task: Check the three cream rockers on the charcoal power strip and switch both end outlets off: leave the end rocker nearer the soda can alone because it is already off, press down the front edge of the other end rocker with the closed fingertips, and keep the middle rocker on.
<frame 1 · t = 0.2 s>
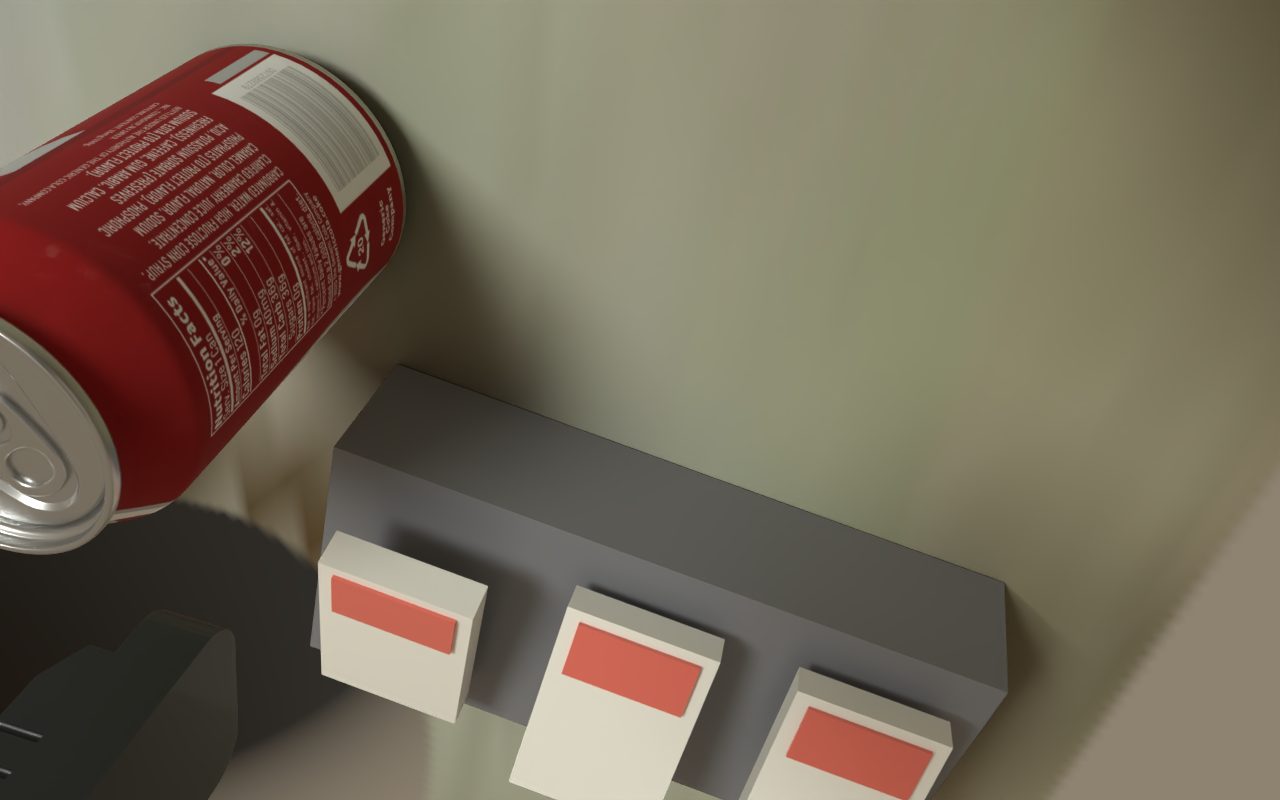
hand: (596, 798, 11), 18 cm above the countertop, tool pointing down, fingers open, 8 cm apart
rocker middle: (613, 714, 30), point 6 cm above the countertop, hinge at -12.0°
soda can: (298, 163, 30), on the countertop
power strip: (660, 568, 34), on the countertop
rocker 2: (831, 795, 29), point 6 cm above the countertop, hinge at -12.0°
rocker 1: (398, 635, 30), point 6 cm above the countertop, hinge at 12.0°
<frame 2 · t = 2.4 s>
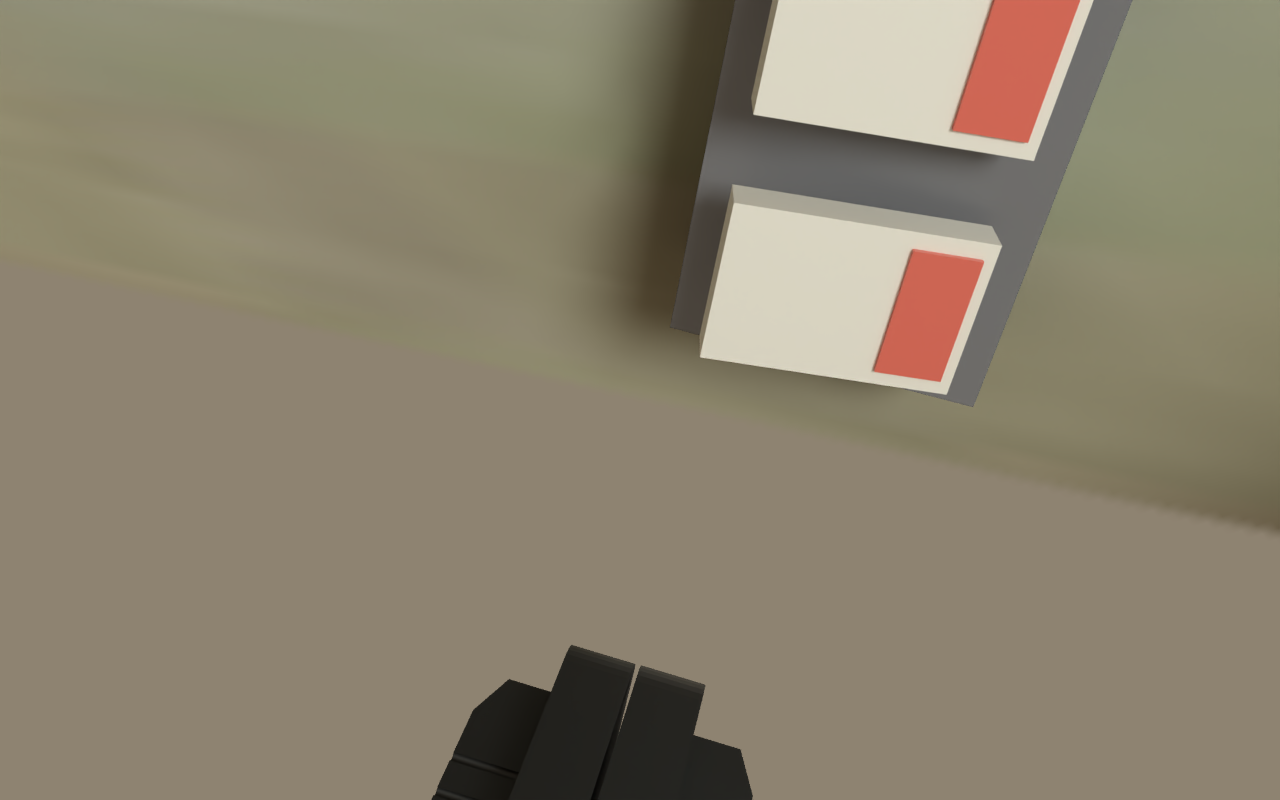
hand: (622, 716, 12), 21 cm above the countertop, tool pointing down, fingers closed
rocker middle: (919, 36, 23), point 6 cm above the countertop, hinge at -12.0°
rocker 2: (843, 294, 26), point 6 cm above the countertop, hinge at -12.0°
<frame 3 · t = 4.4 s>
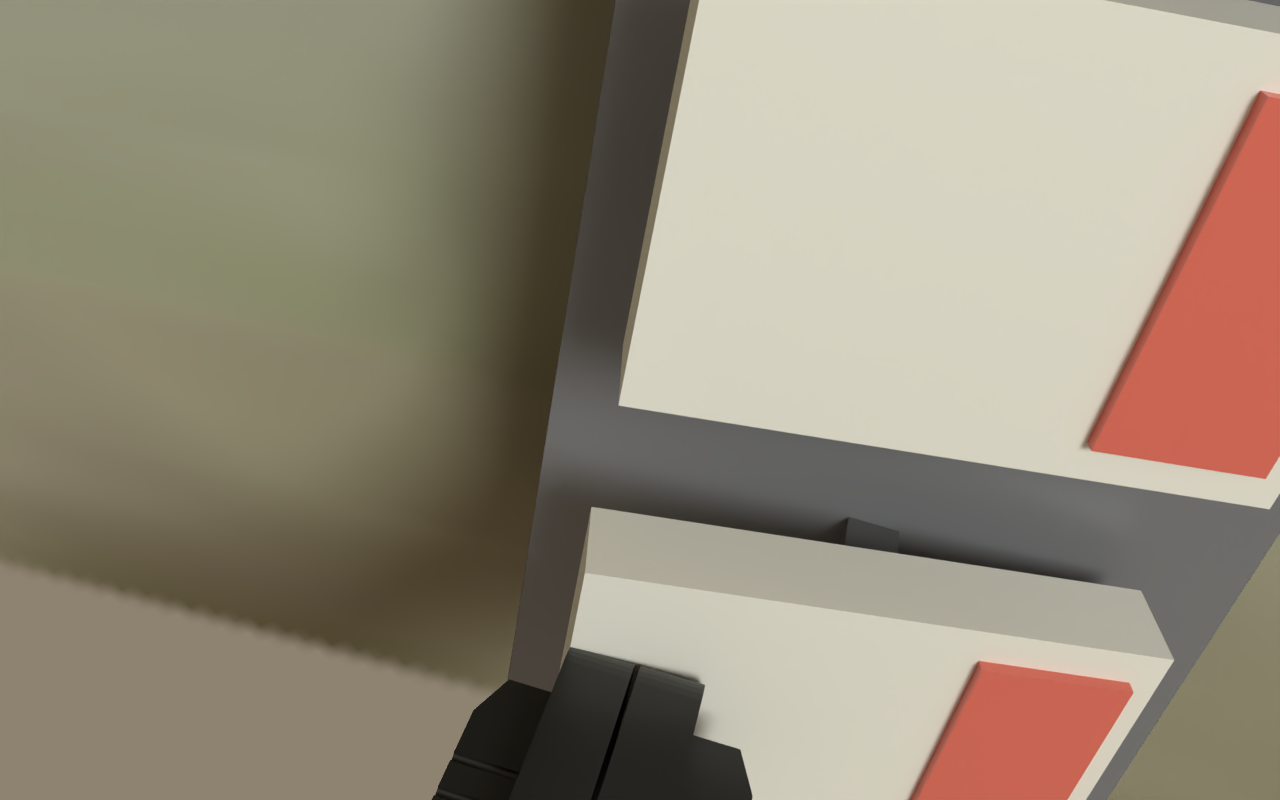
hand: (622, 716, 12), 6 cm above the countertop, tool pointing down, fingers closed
rocker middle: (1019, 236, 9), point 6 cm above the countertop, hinge at -12.0°
power strip: (998, 52, 14), on the countertop
rocker 2: (827, 715, 13), point 6 cm above the countertop, hinge at -12.0°, touching gripper
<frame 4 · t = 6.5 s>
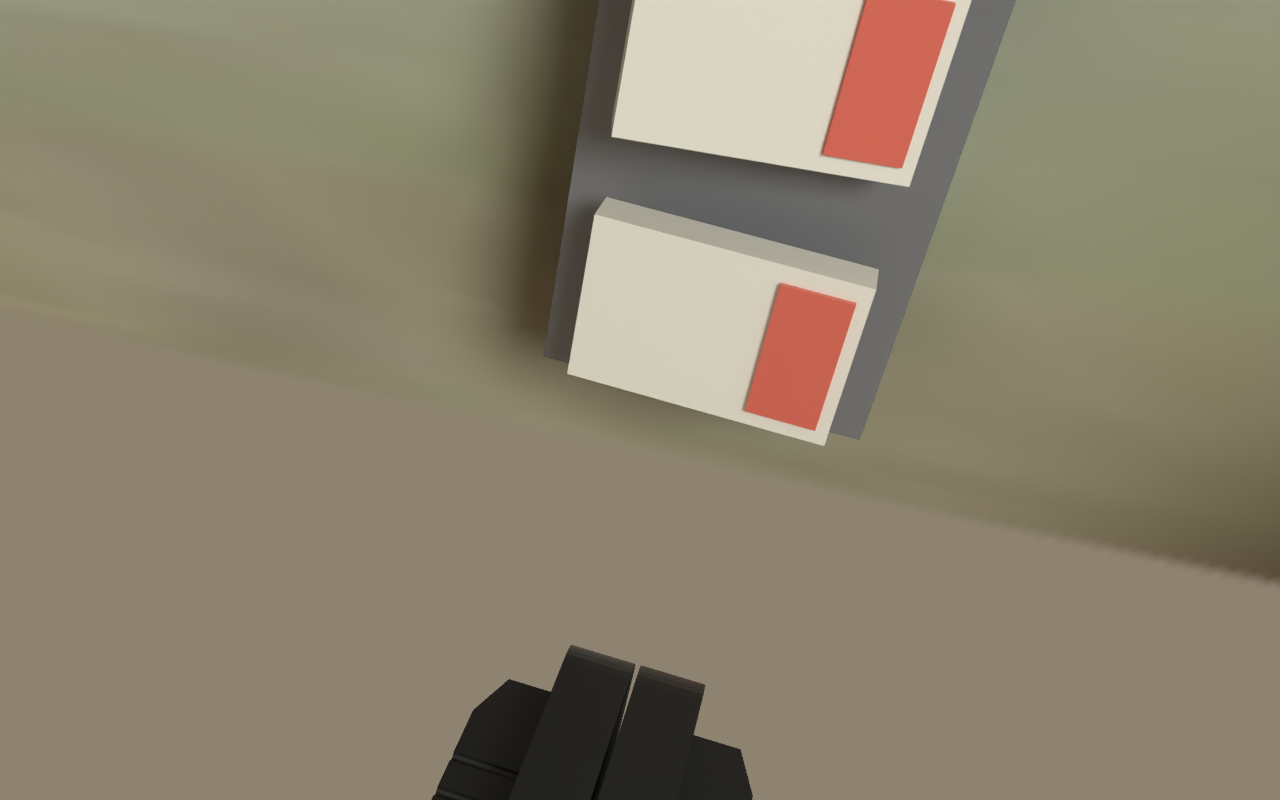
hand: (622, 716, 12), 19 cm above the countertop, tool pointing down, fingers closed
rocker middle: (785, 55, 22), point 6 cm above the countertop, hinge at -12.0°
rocker 2: (716, 324, 25), point 6 cm above the countertop, hinge at 1.7°
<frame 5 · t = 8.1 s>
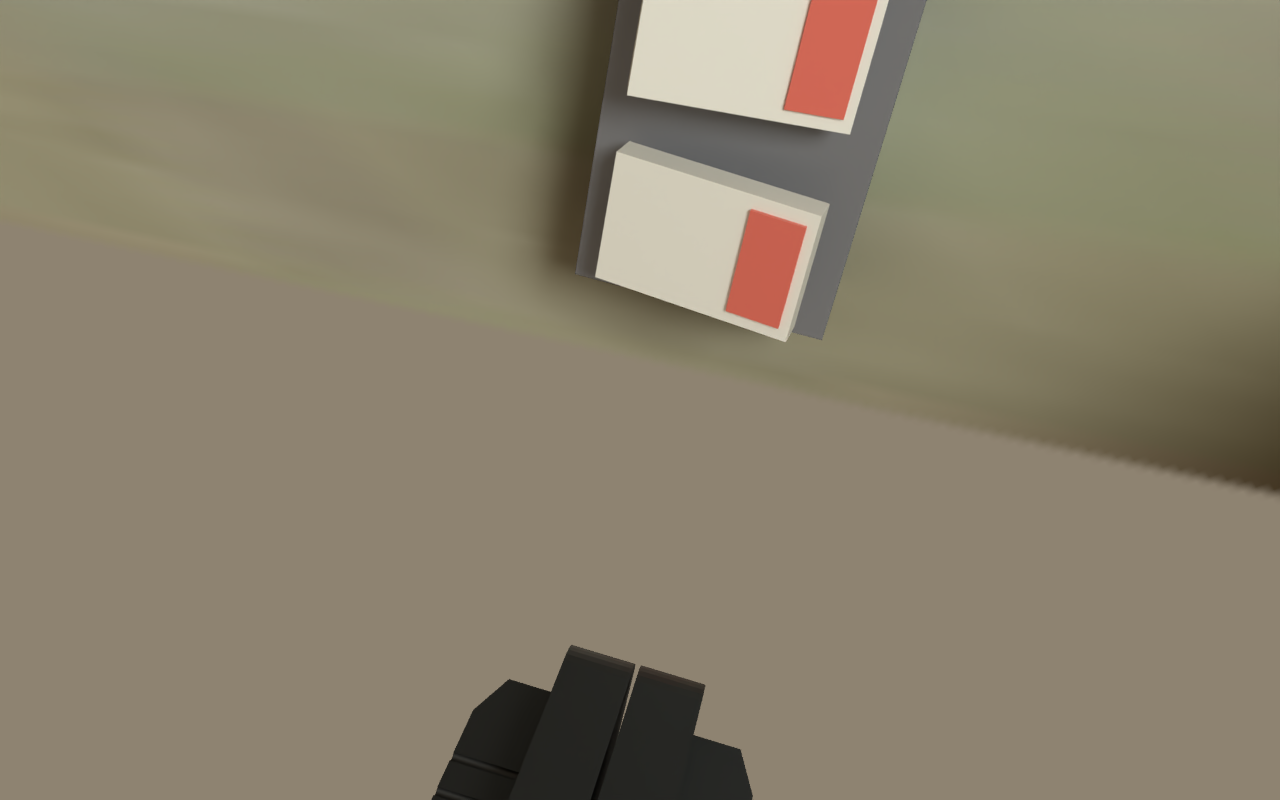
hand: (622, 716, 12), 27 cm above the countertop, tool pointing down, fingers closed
rocker middle: (755, 34, 29), point 6 cm above the countertop, hinge at -12.0°
rocker 2: (707, 242, 33), point 6 cm above the countertop, hinge at 7.8°
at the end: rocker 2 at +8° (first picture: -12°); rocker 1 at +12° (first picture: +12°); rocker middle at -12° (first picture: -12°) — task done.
